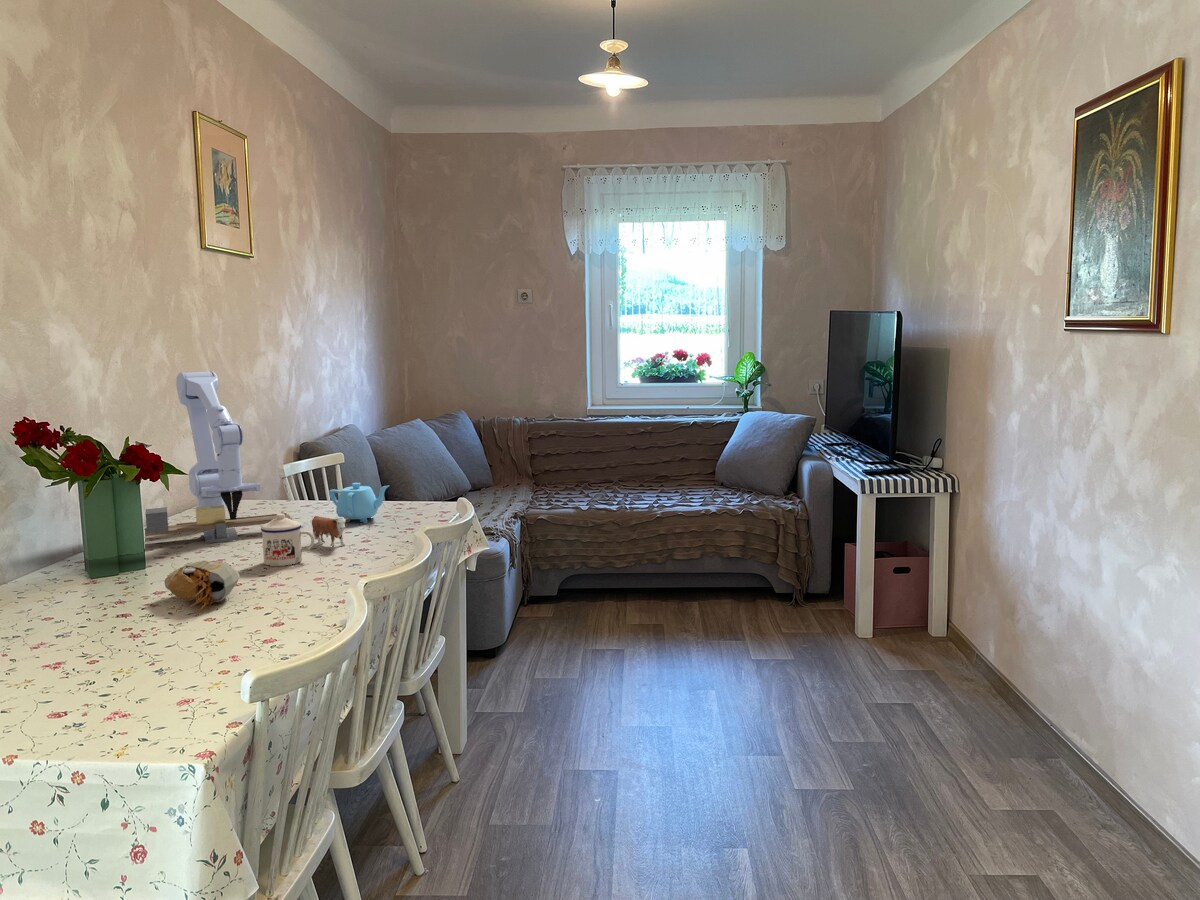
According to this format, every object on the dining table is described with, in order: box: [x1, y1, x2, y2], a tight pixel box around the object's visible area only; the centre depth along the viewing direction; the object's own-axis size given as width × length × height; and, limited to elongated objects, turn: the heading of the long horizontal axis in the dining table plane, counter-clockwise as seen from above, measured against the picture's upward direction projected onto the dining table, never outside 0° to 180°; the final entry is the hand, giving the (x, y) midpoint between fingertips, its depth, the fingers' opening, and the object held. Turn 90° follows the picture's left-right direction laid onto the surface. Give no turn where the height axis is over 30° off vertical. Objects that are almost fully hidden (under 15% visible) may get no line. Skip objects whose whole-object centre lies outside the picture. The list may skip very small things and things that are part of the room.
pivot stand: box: [202, 523, 239, 544], centre depth 242 cm, size 12×8×5 cm, turn 26°
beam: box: [144, 506, 293, 537], centre depth 242 cm, size 8×36×6 cm, turn 116°
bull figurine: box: [311, 515, 351, 548], centre depth 232 cm, size 4×13×8 cm, turn 53°
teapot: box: [328, 482, 390, 524], centre depth 263 cm, size 13×14×11 cm
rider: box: [194, 505, 226, 527], centre depth 241 cm, size 4×7×4 cm, turn 116°
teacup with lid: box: [260, 513, 316, 567], centre depth 215 cm, size 12×9×12 cm
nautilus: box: [164, 560, 240, 616], centre depth 183 cm, size 8×22×15 cm
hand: (233, 519), depth 243 cm, fingers closed
